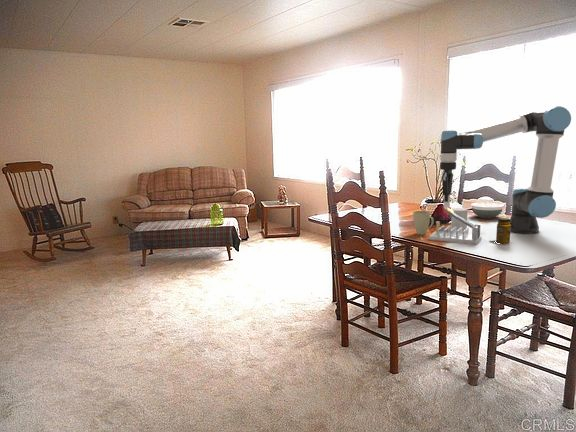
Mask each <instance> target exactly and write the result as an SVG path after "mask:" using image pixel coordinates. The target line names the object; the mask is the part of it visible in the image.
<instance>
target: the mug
mask: <svg viewBox="0 0 576 432" xmlns="http://www.w3.org/2000/svg"><path fill="white" fill-rule="evenodd" d="M412 215H413V225H414V229H415V233H416V234H417V235H426V234H427V232H428V230H429V229H430V228H432V226H433V225H434V223H435V221H434V220H435V219H434V217H432V216H431V211H429V210H428V211H427V210H414V211H413V212H412ZM430 220H431V221H430ZM430 223H431V224H430ZM429 225H430V226H429Z"/></svg>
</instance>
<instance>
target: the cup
mask: <svg viewBox="0 0 576 432" xmlns="http://www.w3.org/2000/svg"><path fill="white" fill-rule="evenodd" d="M451 210H453V211H454V213H455V214H457V215H458V216H460V217H462V218H463V219H465V220H467V221H468V208H463V207H454V208H451ZM450 217H451V218H450V219H451V220H450V223H451V224H450V226H451V227H450V230H451V229H452V228H454V227H455V226H456V231H457V230H458V229H459V228H460V227H462V233H463V231H464V230H465V229H466V228H467V227H468V226H467V225H466V224H464V223H462V222H461V221H459V220H457V219H456V218H454V217H452V216H451V215H450Z"/></svg>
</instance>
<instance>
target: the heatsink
mask: <svg viewBox="0 0 576 432" xmlns="http://www.w3.org/2000/svg"><path fill="white" fill-rule="evenodd" d="M435 225H436V228H435V229H436V230H435V231H433V233H431V234H429V235H428V240H431V241H437V242H438V241H439V242H447V243H458V244H468V245H478V244H479V243H480V241H481V240H482V238H483V236H482V234H481V224H476V223H475V224H474V225H475V226H479V227H480V229H479V230H478V227H472V228H471V232H472V233H469V230H470V229H469V228H470V227H469V226H467V228H466V229H465V230H464V231H463V232H462V227H460V228H459V229H458V230H457V231H456V226H455V227H454V228H452V229H451V225H448V226H447V227H446V228H445V225H442V226H441V221H435Z"/></svg>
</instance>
